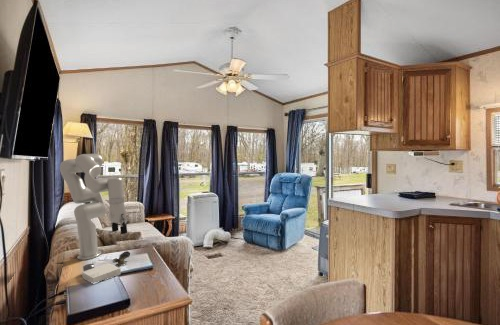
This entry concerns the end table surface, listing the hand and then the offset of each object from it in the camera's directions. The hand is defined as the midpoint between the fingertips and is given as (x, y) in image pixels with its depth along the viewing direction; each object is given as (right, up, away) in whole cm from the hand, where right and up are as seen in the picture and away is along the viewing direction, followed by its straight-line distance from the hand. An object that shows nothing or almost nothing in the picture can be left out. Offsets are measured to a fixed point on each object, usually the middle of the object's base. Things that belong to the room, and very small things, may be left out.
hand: (119, 232), depth 159 cm
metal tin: (-12, -19, -7) cm, 24 cm away
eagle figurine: (+1, -18, +2) cm, 18 cm away
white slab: (-4, -19, -12) cm, 23 cm away
